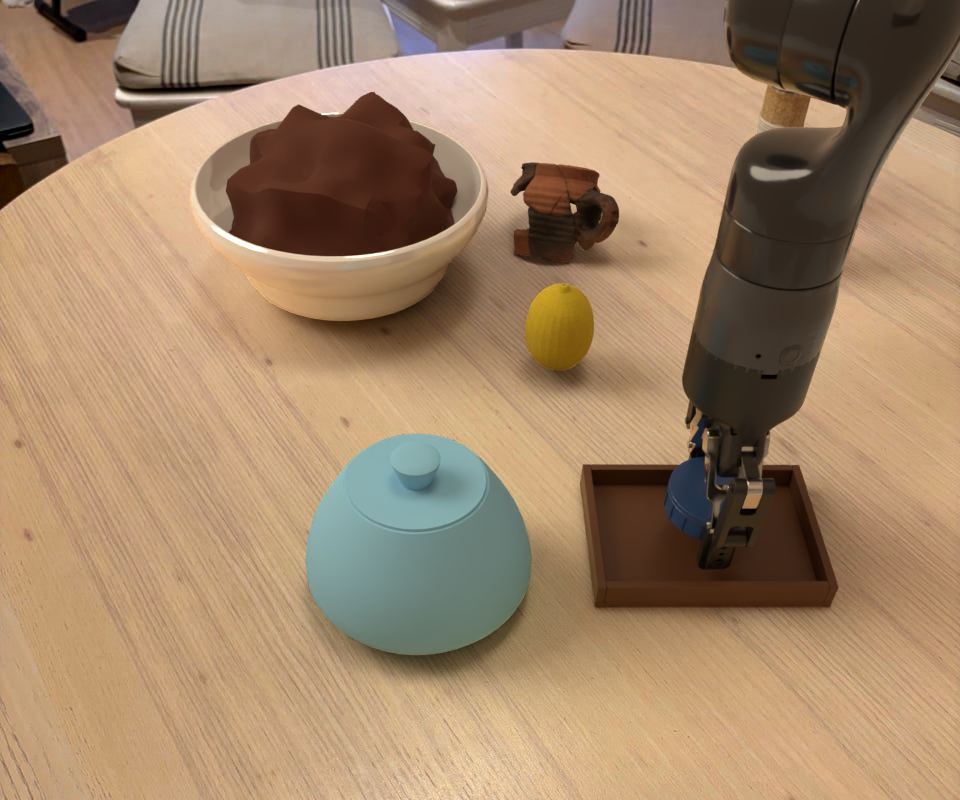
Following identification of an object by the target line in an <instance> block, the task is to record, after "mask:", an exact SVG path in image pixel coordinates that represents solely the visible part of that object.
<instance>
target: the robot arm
mask: <svg viewBox="0 0 960 800" xmlns="http://www.w3.org/2000/svg"><path fill="white" fill-rule="evenodd" d="M723 40H724V43H725V48H726V52H727V55H728V57H729V59H730V62H731V63H732V64H733V66H734V67H735V68H736V70H737V71H738V72H740V73H741V74H742V75H743V76H746V77H748V78H750V79H751V80H753V81H755V82H758V83H762V84H764V85H766V86H767V85H771V86H774V87H777V88H781V89H784V90H788V91H791V92H794V93H798V94H801V95H804V96H807V97H811V99H814V100H817V101H820V102H825V103H827V104H830V105H833V106H834V105H835V106H838V107H840V108H842V109H845V117H844V120H843V123H842V124H841V126H835V127H833V126H832V127H812V126H811V127H810V126H809V127H808V126H804V127H784V128H775V129H771V130H767V131H764V132H761V133H759V134H757V135H755V134H754V135H753V136H751V138H749V139H748V140H747V141H746V142H745V143H743V145H742V146H741V148H740V149H739V151H738V152H737V153H736V156H735V159H734V162H733V164H732V167H731V171H730V175H729V179H728V183H727V187H726V192H725V197H724V203H723V206H722V211H721V215H720V220H719V224H718V228H717V229H718V230H717V234H716V239H715V243H714V247H713V251H712V254H711V257H710V259H709V261H708V264H707V267H706V270H705V273H704V276H703V279H702V283H701V287H700V291H699V296H698V301H697V304H696V309H695V316H694V319H693V323H692V328H691V333H690V338H689V343H688V347H687V352H686V356H685V361H684V366H683V370H682V376H681V383H682V389H683V392H684V394H685V396H686V398H687V399H688V400H689V401H688V406H687V411H686V416H685V418H684V425H685V427H686V429H687V430H689V431H690V432H689V434H690V435H689V436H688V440H687V442H686V447H687V451H688V453H689V456H688V459H687V460H689V459H692V458H696V457H702V456H705V464H704V474H703V485H702V492H703V494H704V495H705V496H706V498H707V499H708V500H709V502H708V512H707V521H706V523H705V529H704V533H703V537H702V540H701V544H700V548H699V551H698V555H697V562H698V567H699V568H700V569H726V568H728V567H729V566H730V564H731V561H732V558H733V555H734V551H735V548H736V547H745V548H753V547H754V545H755V542H756V540H757V537H758V535H759V532H760V530H761V527H762V525H763V522H764V520H765V517H766V515H767V513H768V510H769V508H770V505H771V503H772V500H773V498H774V495H775V492H776V485H775V480H774V479H773V478H761V476H762V468H763V465H764V460H765V458H766V457H767V456H768V454H769V450H770V442H771V430H772V429H774V428H775V427H777V426H779V425H780V424H782V423H784V422H786V421H787V420H789V419H791V418H792V417H794V416H795V415H796V414H797V413H798V412H799V411H800V409H801V408H802V407H803V405H804V402H805V400H806V397H807V395H808V391H809V388H810V385H811V382H812V379H813V376H814V373H815V370H816V367H817V364H818V362H819V359H820V357H821V356H820V355H821V352H822V349H823V346H824V344H825V340H826V338H827V334H828V331H829V329H830V327H831V326H830V325H831V323H832V321H833V320H832V319H833V317H834V313H835V310H836V306H837V303H838V298H839V292H840V287H841V280H842V276H843V273H844V268H845V266H846V263H847V259H848V257H849V253H850V250H851V247H852V244H853V242H854V239H855V235H856V233H857V230H858V226H859V224H860V219H861V217H862V214H863V212H864V208H865V206H866V203H867V201H868V199H869V196H870V194H871V192H872V189H873V187H874V186H875V183H876V181H877V179H878V177H879V175H880V173H881V171H882V169H883V167H884V166H885V163H886V162H887V159H888V158H889V156H890V155H891V153H892V151H893V150H894V147H896V144H897V142H898V141H899V139H900V138H901V136H902V135H903V133H904V131H905V130H906V128H907V127H908V125H909V124H910V122H911V120H912V119H913V118H914V116H915V115H916V113H917V112H918V111H919V109H920V108H921V106H922V105H923V103H924V102H925V101H926V99H927V98H928V96H929V95H930V93H931V92H932V90H933V89H934V87H935V86H936V84H937V83H938V82H939V80H940V79H941V77H942V75H943V74H944V72H945V71H946V69H947V68H948V67H949V64H950V63H951V61H952V60H953V58H954V56H955V54H956V53H957V51H958V49H959V48H960V0H725V3H724V10H723ZM716 475H717V476H719V477H722V478H732V479H731V482H730V485H716V484H715V482H716ZM723 501H724V502H723ZM722 502H723V505H722V508H721V511H720V504H721V503H722ZM719 511H720V514H719Z"/></svg>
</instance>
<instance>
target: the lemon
mask: <svg viewBox="0 0 960 800" xmlns="http://www.w3.org/2000/svg"><path fill="white" fill-rule="evenodd" d="M594 321H595V319H594V311H593V307H592V304H591V302H590V301H589V298H588V297H587V296H586V294H585V293H584V292H583V291H582V290H580V289H579V288H578V287H576V286H574V285H571V284H569V283H566V282H561V283H555V284H552V285H549V286H547V287H545V288H544V289H542V290H541V291H539V293H537V295H536V296H535V298H534V299H533V300H532V302H531V304H530V306H529V308H528V312H527V315H526V319H525V325H524V336H525V343H526V348H527V349H528V352H529V354H530V356H531V357H532V359H533V360H534V361H535V362H536V363H537V364H538V365H540V366H541V367H542V368H545V369H548V370H550V371H553V372H559V371H566V370H569V369H571V368H573V367H575V366H577V365H578V364H579V363H580V362H581V361H582V360H583V359H584V358H585V357H586V355H588V352H589V351H590V347H591V345H592V342H593V339H594V335H595V322H594Z"/></svg>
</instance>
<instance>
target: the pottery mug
mask: <svg viewBox="0 0 960 800" xmlns="http://www.w3.org/2000/svg"><path fill="white" fill-rule="evenodd" d="M520 169H521V170H522V171H521V175H520V177H518V179H516V180H515V182H514V183H513V185H512V188H511V189H510V192H509V193H510V194H511V196H512V197H516V196H518V195H519V194H520V193H521V192H523V193H522V199H523V203H524V204H525V206H527V207H528V208H527V217H528V228H526V229H525V228H516V229H514V230H513V234H512V239H513V252H514V255H518V256H523V257H532V258H538V259H540V260H543V261H544V260H545V261H549V262H551V261H553V262H558V263H571V262H572V259H573V253H574V251H575V249H576V245H577V243H578V245H579V247H580V249H582V250H583V251H584V252H586V251H590V249H591V248H593V246H594V245H595V244H599V243H602V242H604V241H605V240H607V239H608V238H609V237H610V236H611V235H612V234H613V232H614V231H615V229H616V227H617V225H618V224H619V221H620V208H619V205H618V203H617V200H616V199H615V198H614V197H613V196H612V195H610V194H606V193H603V192H601V189H600V187H599V185H598V183H599V178H600V173H599V172H598V171H596V170H594V169H591V168H587V167H582V166H577V165H576V166H575V165H569V164H561V163H558V164H557V163H550V162H549V163H547V162H534V161H533V162H524V163H522V164H521V167H520ZM572 205H573V206H575V209H576V211H575V212H574V213H573V211H572V207H571V206H572Z"/></svg>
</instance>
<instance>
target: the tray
mask: <svg viewBox="0 0 960 800" xmlns="http://www.w3.org/2000/svg"><path fill="white" fill-rule="evenodd" d="M679 465H680V464H650V463H649V464H647V463H646V464H639V463H638V464H636V463H635V464H634V463H633V464H629V463H628V464H623V463H621V464H619V463H617V464H614V463H610V464H605V463H604V464H601V463H600V464H598V463H596V464H595V463H594V464H593V463H592V464H588V463H587V464H586V463H583V464H582V465H581V474H580V480H579V482H580V483H579V487H580V495H581V503H582V505H581V506H582V512H583V519H584V521H583V522H584V527H585V528H584V529H585V535H586V536H585V537H586V545H587V552H588V560H589V570H590V578H591V585H592V587H591V588H592V593H593V604H594V607H595V608H703V607H704V608H709V607H710V608H720V607H721V608H728V607H729V608H730V607H733V608H734V607H735V608H739V607H741V608H742V607H743V608H744V607H746V608H747V607H749V608H750V607H751V608H752V607H754V608H755V607H768V608H769V607H771V608H772V607H773V608H774V607H776V608H777V607H782V608H784V607H787V608H789V607H792V608H793V607H800V608H801V607H802V608H803V607H813V608H814V607H831V606H832V604H833V602H834V599H835V597H836V595H837V592H838V590H839V587H840V586H839V583H838V581H837V578H836V574H835V571H834V568H833V565H832V562H831V560H830V559H831V558H830V556H829V553H828V550H827V546H826V543H825V541H824V537H823V535H822V531H821V528H820V524H819V522H818V519H817V515H816V513H815V509H814V506H813V503H812V500H811V497H810V493H809V491H808V488H807V485H806V482H805V478H804V475H803V472H802V469H801V466H800V465H799V464H763V468H762V476H761V478H773V479H774V480H775V485H776V492H775V495H774V498H773V500H772V503H771V505H770V508H769V510H768V513H767V515H766V517H765V520H764V522H763V525H762V527H761V530H760V532H759V535H758V537H757V540H756V542H755V545H754V547H753V548H745V547H736V548H735V551H734V555H733V558H732V561H731V564H730V566H729V567H728V568H726V569H700V568H699V567H698V562H697V555H698V551H699V548H700V544H701V540H699V539H696V538H693V537H691V536H689V535H687V534H685V533H684V532H682V531H681V530H679V529H678V528H677V527H676V526H675V525H674V524H673V523H672V522H671V520H670V519H669V517H668V515H667V513H666V510H665V506H664V505H663V504H664V500H665V495H666V493H665V492H666V488H667V484H668V480H669V479H670V477H671V474H672V472H673V471H674V470H675V468H676V467H677V466H679Z"/></svg>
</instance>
